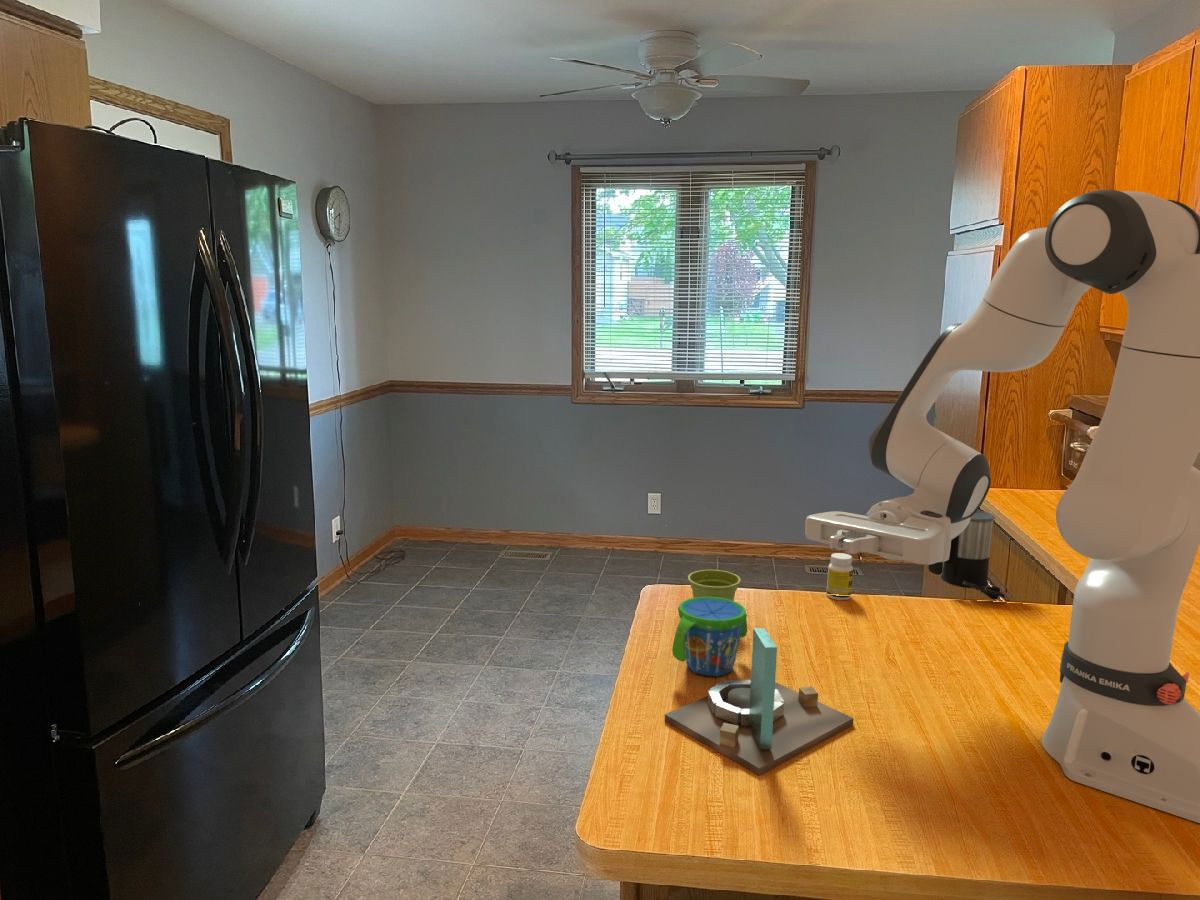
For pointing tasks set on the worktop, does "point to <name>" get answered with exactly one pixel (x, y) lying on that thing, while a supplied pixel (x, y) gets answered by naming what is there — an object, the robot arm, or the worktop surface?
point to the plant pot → (714, 584)
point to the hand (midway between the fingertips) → (840, 545)
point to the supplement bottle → (840, 576)
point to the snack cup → (709, 634)
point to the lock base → (790, 732)
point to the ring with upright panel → (753, 693)
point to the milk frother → (970, 557)
